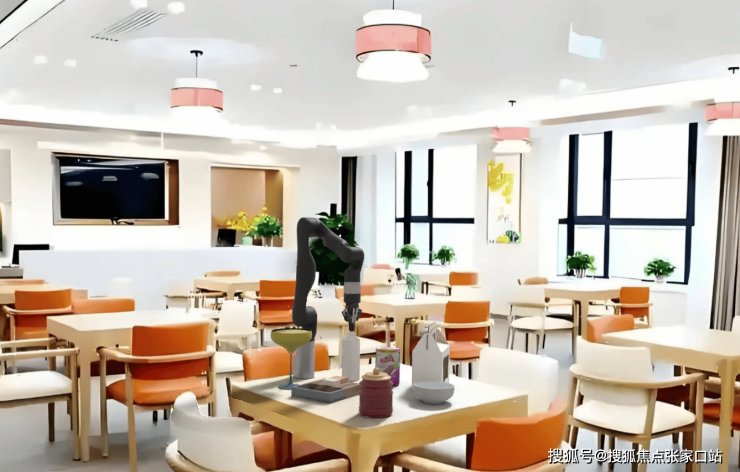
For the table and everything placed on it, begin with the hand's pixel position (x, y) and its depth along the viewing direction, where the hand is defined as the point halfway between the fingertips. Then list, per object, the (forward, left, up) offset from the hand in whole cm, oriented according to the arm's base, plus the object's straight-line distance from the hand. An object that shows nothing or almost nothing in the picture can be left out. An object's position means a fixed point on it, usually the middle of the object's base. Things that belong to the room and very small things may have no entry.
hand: (351, 331), depth 324 cm
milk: (-10, +14, -25) cm, 31 cm away
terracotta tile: (0, -9, -21) cm, 23 cm away
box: (0, -24, -25) cm, 34 cm away
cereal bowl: (+42, -1, -25) cm, 49 cm away
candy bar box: (+9, +16, -25) cm, 31 cm away
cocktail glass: (-22, -15, -25) cm, 37 cm away
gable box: (+27, +24, -25) cm, 44 cm away
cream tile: (0, -14, -21) cm, 26 cm away
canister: (+34, -32, -25) cm, 53 cm away
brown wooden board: (0, -12, -25) cm, 28 cm away
